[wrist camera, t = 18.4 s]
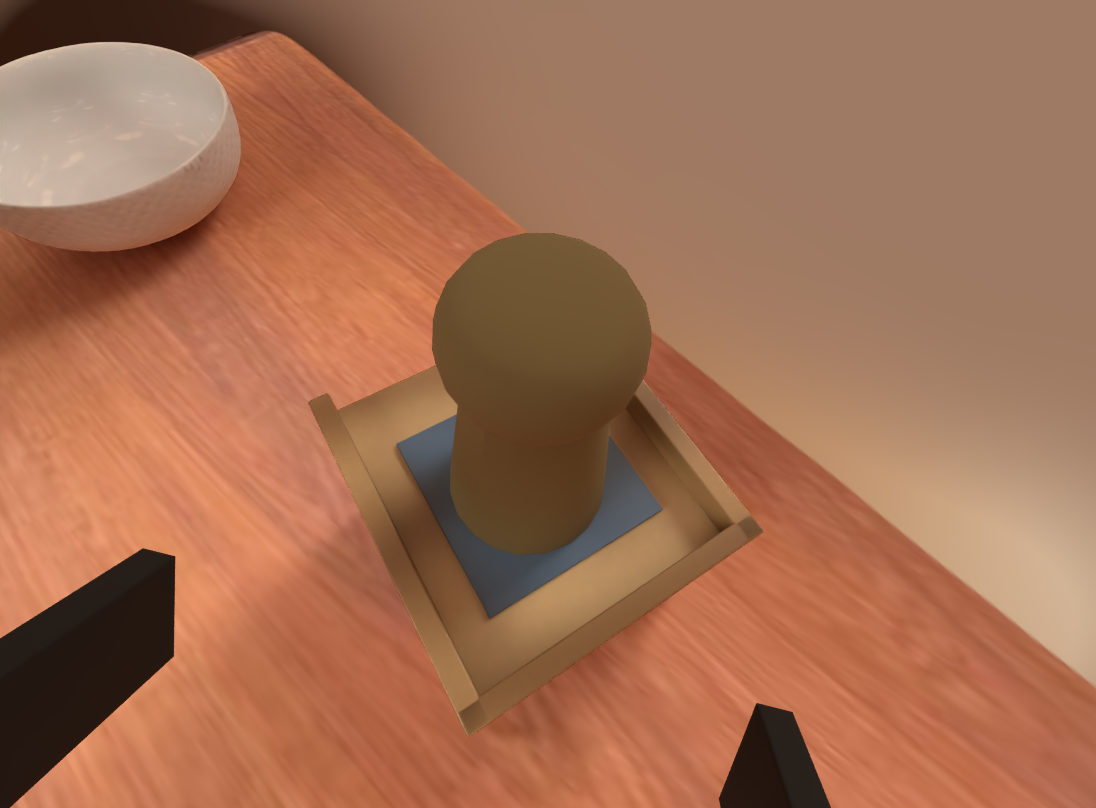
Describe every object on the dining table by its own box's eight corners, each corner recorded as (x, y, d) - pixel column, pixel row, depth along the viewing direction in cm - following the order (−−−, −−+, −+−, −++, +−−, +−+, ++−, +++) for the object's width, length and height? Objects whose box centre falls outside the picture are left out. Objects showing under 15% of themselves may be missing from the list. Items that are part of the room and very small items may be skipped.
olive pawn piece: (552, 386, 23) (587, 163, 14) (634, 504, 21) (744, 337, 11) (422, 450, 22) (356, 246, 12) (497, 587, 19) (489, 472, 10)
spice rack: (372, 500, 31) (307, 401, 21) (550, 408, 35) (569, 285, 25) (482, 724, 26) (467, 738, 16) (675, 590, 30) (764, 530, 20)
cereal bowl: (89, 331, 35) (1, 252, 29) (-26, 199, 40) (-123, 107, 34) (310, 204, 42) (277, 118, 36) (190, 104, 47) (142, 12, 40)
